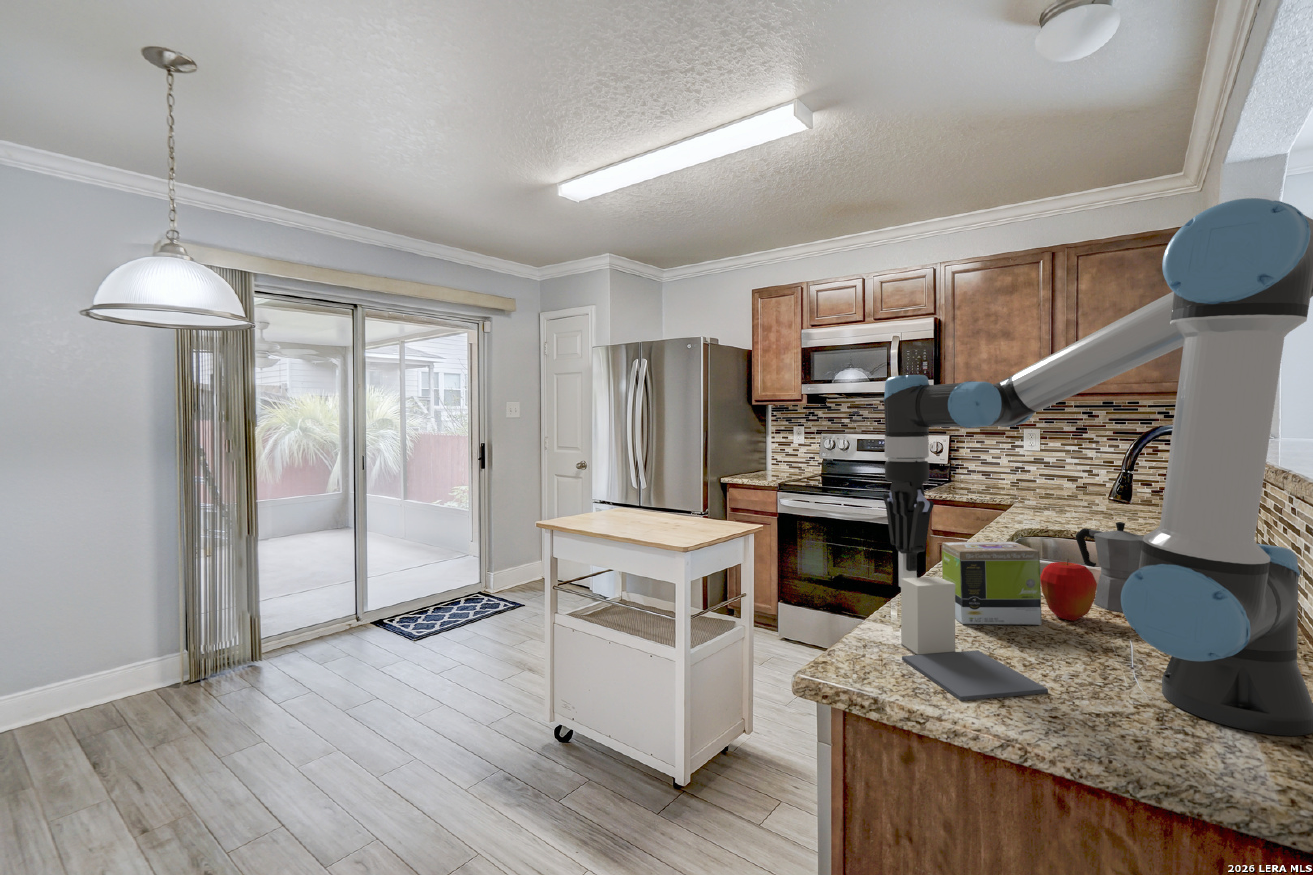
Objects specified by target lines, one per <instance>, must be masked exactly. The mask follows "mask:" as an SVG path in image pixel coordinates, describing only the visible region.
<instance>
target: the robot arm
mask: <svg viewBox="0 0 1313 875" xmlns="http://www.w3.org/2000/svg"><path fill="white" fill-rule="evenodd" d="M1161 263H1162V267H1161V268H1162V274H1163V277H1164V280H1165V282H1166V284H1167V286H1168V287H1169V289H1170V290H1171V292H1170V293H1166V295H1163V296H1162V297H1159V298H1158V299H1156V300H1154V301H1152V302H1149V303H1148V304H1146V305H1144V306H1142V307H1140V308H1139V309H1137V310H1135V311H1133V312H1131V313H1129V314H1127V315H1124V317H1121V318H1119V319H1117V320H1116V321H1113V322H1112V323H1109V324H1108V325H1106V326H1104V327H1102V328H1100V329H1097V331H1094V332H1093V333H1090V334H1088V335H1086V336H1084V337H1083V338H1081V339H1079V340H1077V341H1076V342H1075V341H1074V342H1073V343H1071V344H1069V345H1068V346H1066V347H1063V348H1061V349H1059V350H1058V351H1055V352H1054V353H1052V354H1050V355H1047V356H1046V357H1044V358H1042V359H1040V360H1038V361H1037V362H1035V363H1032V364H1031V365H1029V366H1027V367H1025V368H1022V370H1019V371H1017V372H1015V373H1014V374H1012V375H1010V376H1008V377H1006V378H1004V379H1002V380H1000V381H998V382H996V383H991V382H989V381H976V380H975V381H971V380H968V381H964V382H963V381H962V382H955V383H954V382H953V383H944V384H930V382H929V378H928V376H927V375H924V374H906V375H893V376H890V377H888V378H887V379H885V382H884V398H883V406H884V407H883V409H884V428H885V430H884V457H885V458H886V459H887V460H886V461H885V463H884V477H885V480H886V481H887V482H891V485H890V490H889V491H890V492H889V493H883V495H882V499H883V502H884V504H885V511H886V517H887V518H886V519H887V525H888V526H887V527H888V533H889V539H890V541H889V542H890V545H892V546H895V550H896V551H897V555H898V556H897V561H898V562H897V563H898V587H900V588H901V578H918V575H917V574H918V572H917V570H918V554H919V553H920V552H925V551H926V546H927V539H928V534H929V533H928V532H929V524H930V520H931V513H932V511H933V509H934V506H935V505H934V501H933V500H927V498H926V497H925V489H924V483H925V482H928V481H929V479H930V462H928V461H927V460H926V459H927V458H929V454H930V453H929V452H930V451H929V445H930V441H929V435H930V434H929V433H930V432H929V431H930V428H966V429H971V428H975V429H977V428H981V427H1001V428H1009V427H1013V426H1018V425H1023V424H1025V423H1026V422H1028V421H1029V420H1030V419H1031V418H1032V417H1033V415H1034V414H1035V413H1037V412H1039V411H1042V410H1043V409H1047V408H1048V407H1050V406H1053V405H1055V404H1056V403H1059V402H1062V401H1063V400H1065V399H1068V398H1071V397H1073V396H1075V395H1077V394H1079V393H1081V392H1083V391H1086V390H1089V389H1090V388H1093V387H1095V386H1098V385H1099V384H1102V383H1103V382H1106V381H1108V380H1111V379H1113V378H1115V377H1118V376H1120V375H1122V374H1124V373H1126V372H1128V371H1131V370H1132V369H1135V368H1137V367H1139V366H1142V365H1144V364H1146V363H1149V362H1150V361H1152V360H1155V359H1157V358H1160V357H1161V356H1165V355H1166V354H1169V353H1171V352H1173V351H1175V350H1178V349H1180V348H1182V354H1181V362H1180V370H1179V378H1178V383H1177V384H1178V385H1177V393H1176V399H1175V400H1176V401H1175V408H1174V414H1173V416H1174V417H1173V423H1172V431H1171V438H1170V447H1169V454H1168V462H1167V468H1166V469H1167V470H1166V476H1165V484H1164V485H1165V486H1164V491H1163V492H1164V493H1163V498H1162V499H1163V500H1162V507H1161V517H1160V522H1159V526H1158V527H1157V528H1155V529H1153V530H1152V531H1150V532H1148V533H1146V534H1144V535H1143V536H1144V537H1143V541H1142V548H1141V556H1140V563H1139V570H1137V571H1135V572H1134V573H1132V574H1131V575H1130V576H1129V578H1128V579H1127V581H1126V582H1125V584H1124V586H1123V588H1122V591H1121V606H1122V610H1123V612H1122V613H1123V615H1124V617H1125V619H1126V621H1127V622H1128V624H1129V626H1130V627H1131V628H1132V629H1133V630H1134V631H1135V633H1136V634H1137V635H1139V637H1140V639H1142V640H1143V641H1144V642H1145V643H1147V644H1148V645H1150V646H1151V647H1153V648H1154V649H1156V650H1157V651H1160V652H1161V653H1164V654H1165V655H1168V656H1171V657H1170V659H1169V661H1168V664H1167V666H1166V669H1165V670H1164V672H1163V673H1162V677H1161V693H1162V696H1163V697H1164V698H1165V699H1166V700H1167V702H1168V701H1169V702H1170V703H1172V704H1173V705H1175V706H1176V707H1177V708H1179V709H1181V710H1184V711H1185V712H1188V713H1190V714H1192V715H1195V716H1197V717H1200V718H1203V719H1205V720H1208V721H1211V722H1214V723H1218V724H1220V725H1223V726H1228V727H1230V728H1236V729H1240V730H1244V731H1249V732H1254V733H1259V734H1265V735H1275V736H1303V735H1305V736H1306V735H1309V734H1312V733H1313V701H1312V697H1311V695H1310V691H1309V690H1308V687H1307V685H1306V684H1307V683H1306V682H1305V679H1304V677H1303V674H1302V672H1301V670H1300V667H1299V664H1298V629H1299V628H1298V626H1299V624H1298V621H1299V578H1300V577H1301V570H1300V569H1299V564H1298V557H1297V555H1296V553H1295V552H1294V551H1293V550H1292V549H1290V548H1287V547H1283V546H1276V545H1271V544H1261V543H1257V542H1256V538H1255V537H1256V532H1257V525H1258V519H1259V518H1258V517H1259V512H1260V504H1261V498H1262V491H1263V484H1264V478H1265V471H1266V464H1267V459H1268V458H1267V457H1268V452H1269V443H1270V438H1271V431H1272V425H1273V423H1272V422H1273V418H1274V410H1275V405H1276V404H1275V402H1276V399H1277V398H1276V397H1277V390H1278V384H1279V378H1280V377H1279V376H1280V371H1281V370H1280V369H1281V363H1282V355H1283V350H1284V349H1283V348H1284V342H1285V337H1286V336H1287V335H1289V333H1290V332H1292V331H1294V330H1295V329H1296V328H1299V327H1300V326H1301V325H1302V324H1304V323H1306V322H1307V320H1308V314H1309V307H1310V300H1311V298H1313V219H1312V218H1311V217H1308V216H1307V215H1305V214H1304V212H1302V211H1301V210H1300V209H1298V208H1296V207H1295V206H1293V205H1291V204H1289V203H1287V202H1283V201H1280V200H1270V199H1267V198H1258V197H1257V198H1256V197H1255V198H1253V197H1252V198H1251V197H1248V198H1239V199H1234V200H1233V199H1232V200H1229V201H1225V202H1221V203H1219V204H1216V205H1213V206H1211V207H1208V208H1207V209H1205V210H1203V211H1201V212H1200V213H1198V214H1196V215H1195V216H1194V217H1192V218H1191V219H1189V220H1188V221H1187V222H1186V223H1185V224H1183V225H1182V226H1181V227H1180V228H1179V229H1178V230H1177V231H1176V233H1175V234H1174V235H1173V236H1172V237H1171V239H1170V240H1169V242H1168V244H1167V246H1166V247H1165V251H1164V253H1163V257H1162V261H1161Z"/></svg>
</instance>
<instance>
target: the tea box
mask: <svg viewBox="0 0 1313 875" xmlns="http://www.w3.org/2000/svg"><path fill="white" fill-rule="evenodd" d="M1040 556H1041V555H1040V550H1037V549H1035V548H1031V547H1029V546H1026V545H1023V544H1020V543H1018V542H1016V541H958V542H957V541H955V542H953V541H951V542H950V541H946V542H945V541H944V542H942V543H941V565H942V568H941V569H942V571H941V572H942V579H945V580H947V581H950V582H952V583H954V584H955V621H958V623H960V624H962V625H1027V626H1028V625H1030V626H1032V625H1033V626H1035V625H1037V626H1039V625H1042V623H1043V622H1042V593H1041V592H1042V588H1041V581H1040V576H1041V557H1040Z"/></svg>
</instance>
